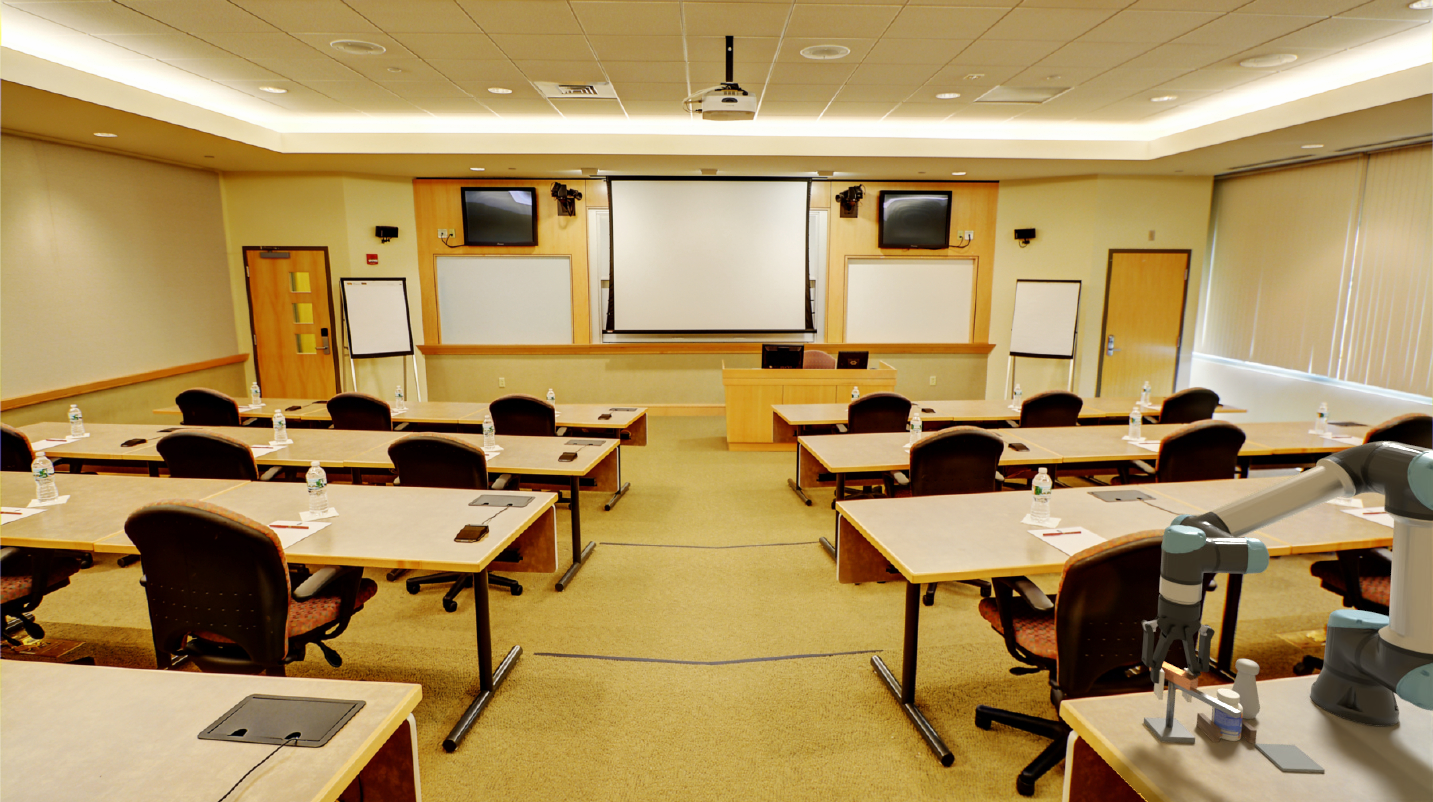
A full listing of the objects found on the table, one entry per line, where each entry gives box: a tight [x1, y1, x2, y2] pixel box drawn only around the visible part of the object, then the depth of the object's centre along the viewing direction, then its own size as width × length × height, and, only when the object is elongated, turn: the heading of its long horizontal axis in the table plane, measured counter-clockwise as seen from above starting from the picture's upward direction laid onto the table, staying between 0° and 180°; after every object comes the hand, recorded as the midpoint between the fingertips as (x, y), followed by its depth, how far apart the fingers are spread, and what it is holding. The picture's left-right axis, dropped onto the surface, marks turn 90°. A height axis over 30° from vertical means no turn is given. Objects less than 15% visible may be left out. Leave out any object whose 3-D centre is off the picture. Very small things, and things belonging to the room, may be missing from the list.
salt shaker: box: [1231, 658, 1261, 720], centre depth 156 cm, size 6×6×13 cm
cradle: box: [1196, 712, 1257, 744], centre depth 150 cm, size 9×6×3 cm
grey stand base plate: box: [1143, 717, 1196, 744], centre depth 151 cm, size 7×7×1 cm
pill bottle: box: [1210, 688, 1243, 742], centre depth 149 cm, size 5×5×10 cm
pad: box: [1254, 743, 1326, 774], centre depth 141 cm, size 8×8×1 cm
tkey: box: [1149, 661, 1241, 728], centre depth 145 cm, size 18×2×14 cm, turn 21°
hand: (1172, 697), depth 149 cm, fingers closed on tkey, 5 cm apart
